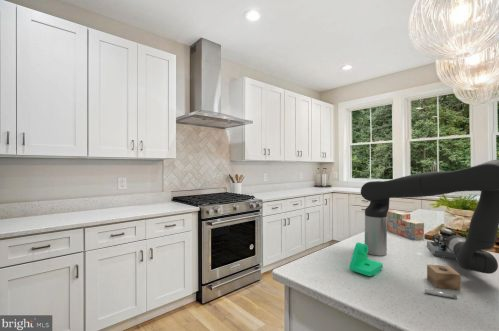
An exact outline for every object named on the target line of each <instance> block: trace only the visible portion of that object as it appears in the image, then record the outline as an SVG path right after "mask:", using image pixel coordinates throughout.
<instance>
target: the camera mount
mask: <svg viewBox="0 0 499 331" xmlns="http://www.w3.org/2000/svg"><path fill="white" fill-rule="evenodd" d="M368 254H369V253H368V246H367V245H366V244H365V243H362V242H356V243H355V245H354V249H353V253H352V257H351V261H350V264H349V270H350V271H352V272H356V273H360V274H361V275H365V276H367V277H368V276H369V277H371V276H374V277H375V276H377V275H378V274H379V273H380V272H381V271H380V270H382V269H384V268H383V267H384V266H383V264H384V263H382V262H380V261H377V260H373V259H370V258H368V257H369V256H368Z"/></svg>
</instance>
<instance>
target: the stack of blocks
mask: <svg viewBox="0 0 499 331" xmlns="http://www.w3.org/2000/svg"><path fill="white" fill-rule="evenodd" d="M387 232H390V233H393V234H395V235H398V236H402V237H403V238H404V237H405V238H407V239H410V240H412V241H421V240H425V238H424V237H425V223H424V222H422V221H418V220H415V219H411V213H407V212H403V211H399V210H394V209H393V210H392V209H391V210H390V209H389V210H388V212H387Z"/></svg>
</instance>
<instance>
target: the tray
mask: <svg viewBox="0 0 499 331" xmlns="http://www.w3.org/2000/svg"><path fill="white" fill-rule="evenodd" d="M439 245H440V243H439V244H437V243H435V242H434V241H430V240H428V241H426V246H427V248H428V250H430V252H431V253H432V255H433V256H434V257H439V258H448V259H453V260H454V259H456V260H457V256H455V255H454V254H453V253H452V252H451V251H450V250H449V249H447V251H446V250H445V251H439Z"/></svg>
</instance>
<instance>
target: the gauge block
mask: <svg viewBox="0 0 499 331" xmlns="http://www.w3.org/2000/svg"><path fill="white" fill-rule="evenodd" d="M461 278H462V276H461V274H460V273H459V272H458V271H456V270H455V269H454V268H452V266H450V265H441V264H440V265H437V264H426V279H427V280H428V281H429V282H430V283H431V284H432V285H434V287H435V288H439V289H449V290H458V291H461V282H462V281H461Z"/></svg>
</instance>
